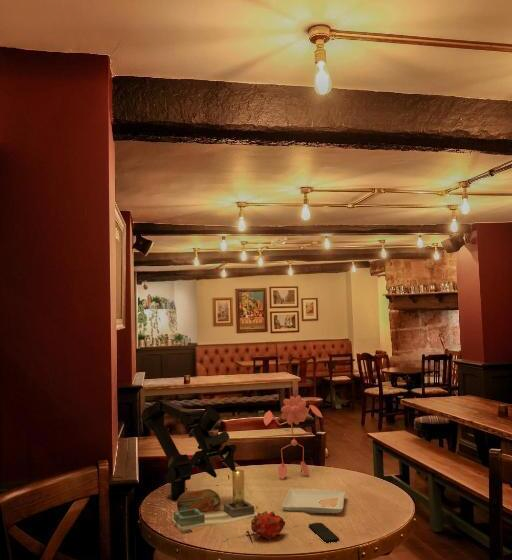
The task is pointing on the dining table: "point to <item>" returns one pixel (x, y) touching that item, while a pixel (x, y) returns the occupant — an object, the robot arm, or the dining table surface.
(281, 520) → the dragon fruit
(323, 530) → the remote control
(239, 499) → the brass peg
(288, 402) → the pink flower figurine
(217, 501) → the brown flat oval piece
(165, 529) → the dining table surface
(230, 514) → the dock board
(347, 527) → the dining table surface
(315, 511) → the salad plate
